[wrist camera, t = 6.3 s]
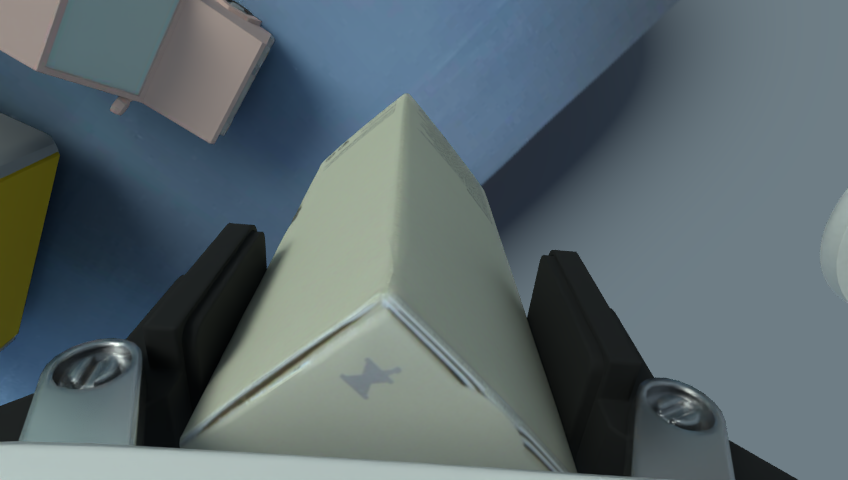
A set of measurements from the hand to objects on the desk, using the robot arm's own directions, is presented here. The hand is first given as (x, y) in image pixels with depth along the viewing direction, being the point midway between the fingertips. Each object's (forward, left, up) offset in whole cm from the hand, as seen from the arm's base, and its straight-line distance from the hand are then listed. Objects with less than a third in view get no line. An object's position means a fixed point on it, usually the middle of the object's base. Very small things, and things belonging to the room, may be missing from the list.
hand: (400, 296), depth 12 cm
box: (0, 0, -8) cm, 8 cm away
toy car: (+17, -3, -25) cm, 30 cm away
